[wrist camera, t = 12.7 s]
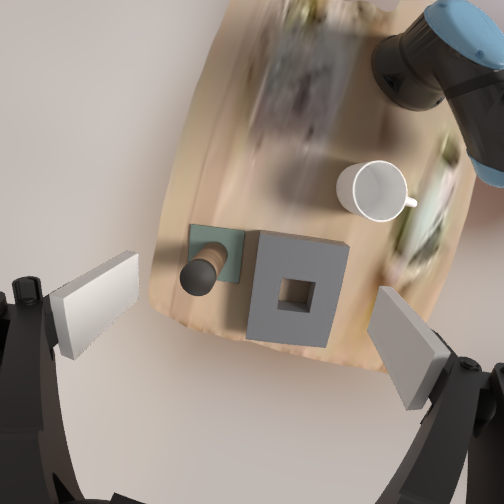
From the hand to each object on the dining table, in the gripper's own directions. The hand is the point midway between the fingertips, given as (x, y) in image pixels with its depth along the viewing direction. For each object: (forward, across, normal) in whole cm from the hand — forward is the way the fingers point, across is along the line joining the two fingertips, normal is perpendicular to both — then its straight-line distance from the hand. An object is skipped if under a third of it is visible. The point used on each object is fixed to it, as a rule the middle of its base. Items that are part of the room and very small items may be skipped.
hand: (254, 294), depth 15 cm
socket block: (+33, +6, -12) cm, 35 cm away
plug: (+32, -8, -8) cm, 34 cm away
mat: (+33, -8, -8) cm, 34 cm away
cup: (+34, +16, +6) cm, 38 cm away
